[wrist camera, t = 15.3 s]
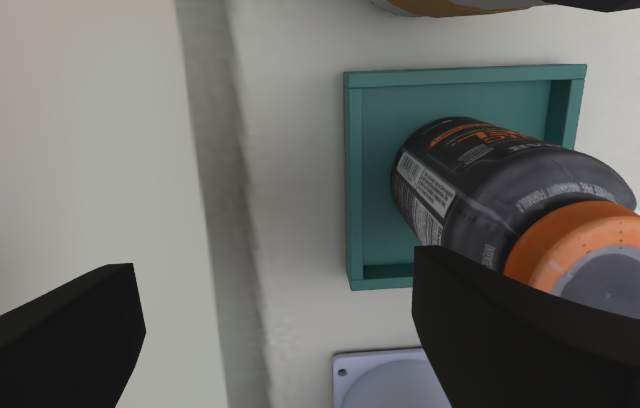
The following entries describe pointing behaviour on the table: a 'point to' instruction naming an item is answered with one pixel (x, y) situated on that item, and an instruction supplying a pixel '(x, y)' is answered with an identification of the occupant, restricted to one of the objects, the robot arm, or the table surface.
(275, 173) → the table surface
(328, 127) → the table surface
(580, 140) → the table surface
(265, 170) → the table surface
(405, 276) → the tray
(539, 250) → the pill bottle
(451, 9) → the coffee cup
